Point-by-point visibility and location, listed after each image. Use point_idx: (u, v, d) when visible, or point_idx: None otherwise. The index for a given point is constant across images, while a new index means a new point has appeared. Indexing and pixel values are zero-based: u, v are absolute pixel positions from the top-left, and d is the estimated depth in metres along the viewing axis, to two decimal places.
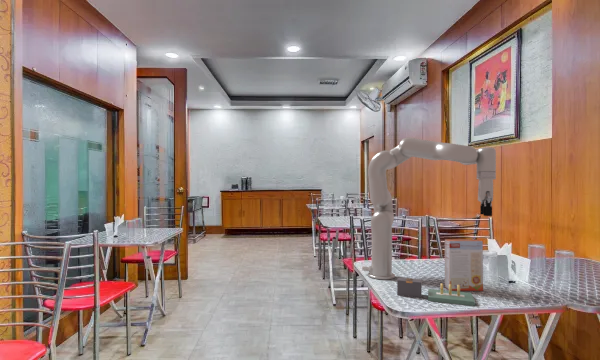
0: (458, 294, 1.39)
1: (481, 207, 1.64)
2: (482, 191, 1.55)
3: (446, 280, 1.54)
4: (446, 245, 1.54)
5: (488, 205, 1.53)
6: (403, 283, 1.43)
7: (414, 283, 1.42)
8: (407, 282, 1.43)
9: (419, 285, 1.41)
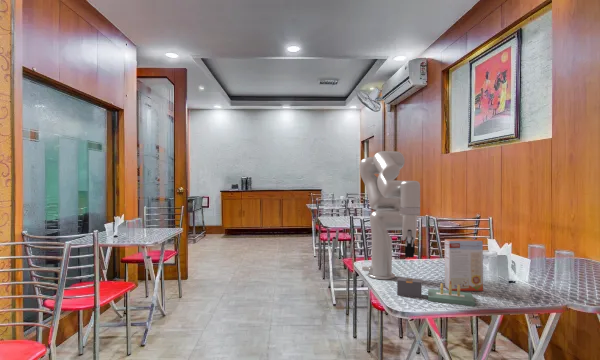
0: (458, 294, 1.39)
1: None
2: (404, 229, 1.41)
3: (446, 280, 1.54)
4: (446, 245, 1.54)
5: (409, 245, 1.39)
6: (403, 283, 1.43)
7: (414, 283, 1.42)
8: (407, 282, 1.43)
9: (419, 285, 1.41)
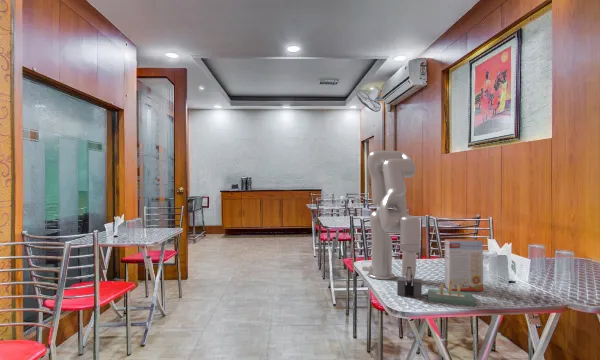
0: (458, 294, 1.39)
1: None
2: (403, 266, 1.41)
3: (446, 280, 1.54)
4: (446, 245, 1.54)
5: (409, 285, 1.41)
6: (403, 283, 1.43)
7: (414, 283, 1.42)
8: None
9: (419, 285, 1.41)
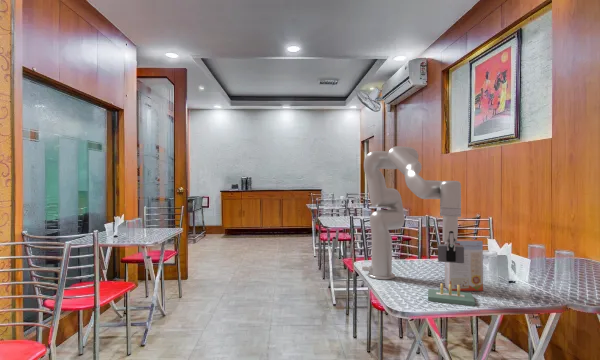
0: (458, 294, 1.39)
1: None
2: (445, 231, 1.37)
3: (446, 280, 1.54)
4: None
5: (451, 250, 1.36)
6: (444, 248, 1.39)
7: (456, 248, 1.37)
8: None
9: (462, 250, 1.37)
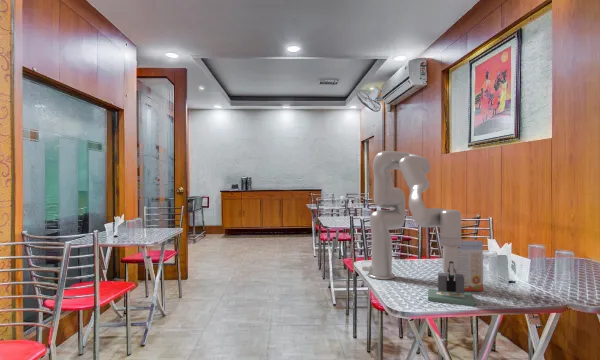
0: (458, 294, 1.39)
1: None
2: (445, 261, 1.36)
3: None
4: None
5: (451, 280, 1.36)
6: (444, 278, 1.38)
7: (456, 278, 1.37)
8: None
9: (462, 280, 1.36)
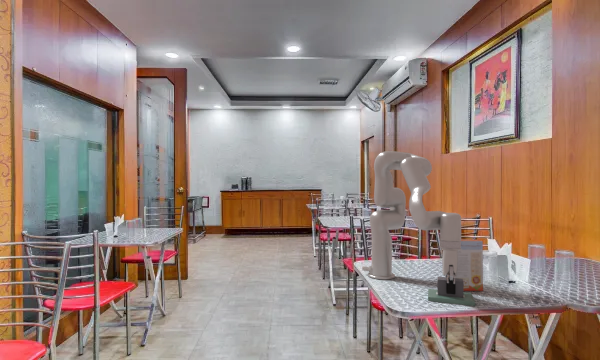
0: None
1: None
2: (445, 264, 1.36)
3: None
4: None
5: (451, 283, 1.35)
6: (444, 282, 1.39)
7: (456, 282, 1.37)
8: None
9: (461, 284, 1.37)
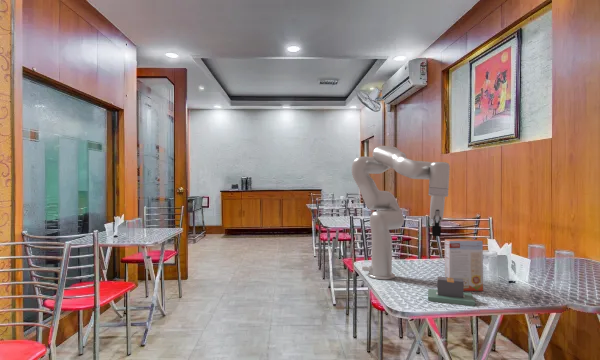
0: None
1: (433, 225, 1.53)
2: (432, 209, 1.45)
3: None
4: (446, 245, 1.54)
5: (436, 225, 1.43)
6: (444, 282, 1.39)
7: (456, 282, 1.37)
8: (448, 281, 1.38)
9: (461, 284, 1.37)
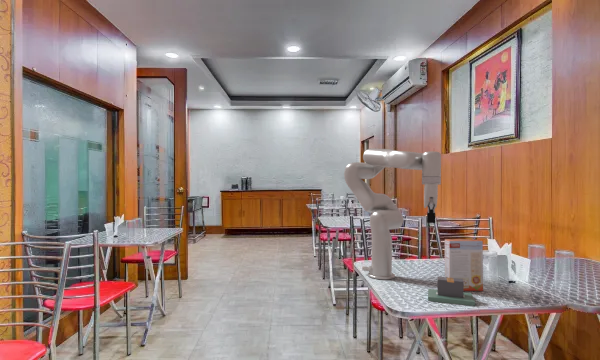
0: None
1: None
2: (426, 197, 1.49)
3: None
4: (446, 245, 1.54)
5: (431, 212, 1.47)
6: (444, 282, 1.39)
7: (456, 282, 1.37)
8: (448, 281, 1.38)
9: (461, 284, 1.37)
